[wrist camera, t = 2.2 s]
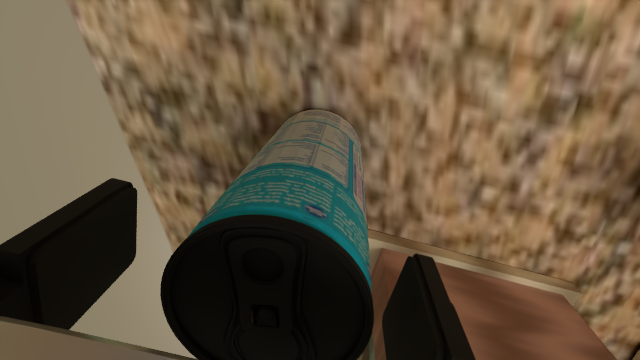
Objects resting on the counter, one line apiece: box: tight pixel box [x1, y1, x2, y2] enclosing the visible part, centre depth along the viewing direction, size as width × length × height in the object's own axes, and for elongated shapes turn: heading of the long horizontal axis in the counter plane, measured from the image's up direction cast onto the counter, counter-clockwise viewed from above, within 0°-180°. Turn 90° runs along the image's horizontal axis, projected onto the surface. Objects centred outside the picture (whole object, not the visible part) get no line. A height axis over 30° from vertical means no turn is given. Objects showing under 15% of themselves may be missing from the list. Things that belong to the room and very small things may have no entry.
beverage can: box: [161, 110, 374, 360], centre depth 16 cm, size 6×6×15 cm
